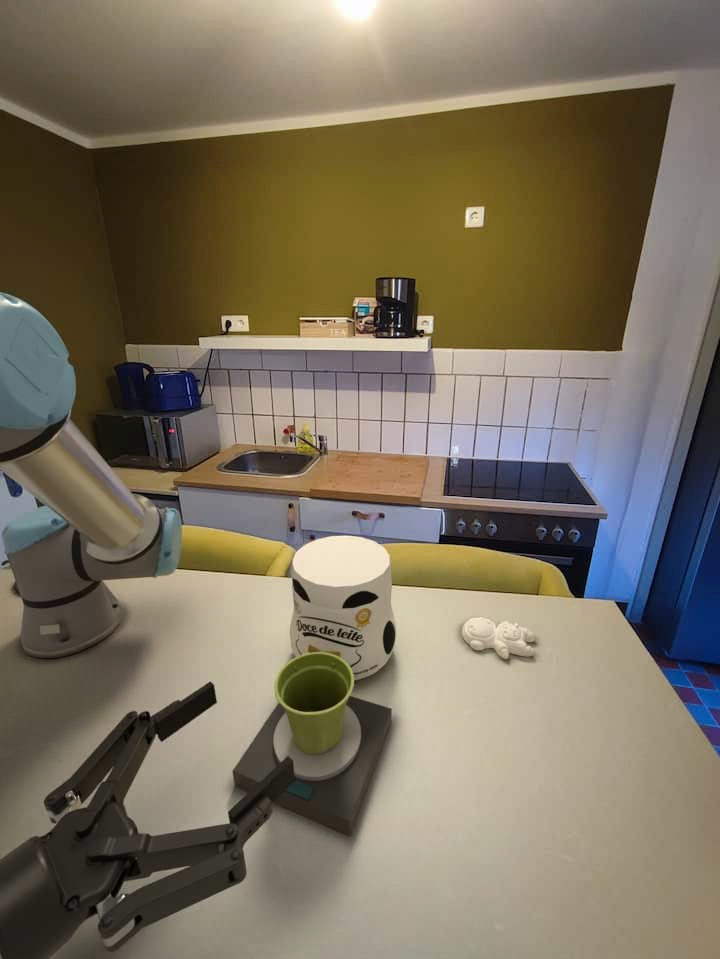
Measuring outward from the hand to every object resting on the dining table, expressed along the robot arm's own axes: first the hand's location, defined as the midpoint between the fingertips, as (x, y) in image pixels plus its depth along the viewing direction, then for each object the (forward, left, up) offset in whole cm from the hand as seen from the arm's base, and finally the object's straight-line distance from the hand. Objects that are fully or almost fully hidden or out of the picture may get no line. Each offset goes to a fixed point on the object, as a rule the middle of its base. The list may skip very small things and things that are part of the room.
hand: (249, 726), depth 45 cm
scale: (+3, +8, -12) cm, 15 cm away
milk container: (-1, +26, -13) cm, 29 cm away
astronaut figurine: (+23, +38, -13) cm, 46 cm away
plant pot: (+3, +8, -9) cm, 13 cm away
